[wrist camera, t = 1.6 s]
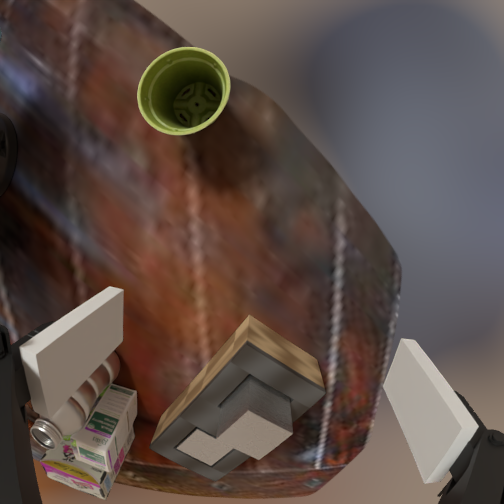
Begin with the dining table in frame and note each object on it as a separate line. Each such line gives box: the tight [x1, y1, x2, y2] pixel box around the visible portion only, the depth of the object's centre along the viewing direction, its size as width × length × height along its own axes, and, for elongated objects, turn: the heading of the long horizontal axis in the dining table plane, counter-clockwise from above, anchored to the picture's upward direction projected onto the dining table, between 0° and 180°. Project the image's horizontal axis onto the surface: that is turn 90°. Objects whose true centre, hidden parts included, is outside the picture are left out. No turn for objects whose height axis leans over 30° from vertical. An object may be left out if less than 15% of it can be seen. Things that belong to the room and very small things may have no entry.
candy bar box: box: [40, 424, 135, 500], centre depth 41 cm, size 11×5×16 cm, turn 84°
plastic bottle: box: [30, 351, 121, 450], centre depth 35 cm, size 6×7×20 cm
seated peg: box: [177, 426, 233, 466], centre depth 43 cm, size 6×6×8 cm
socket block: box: [149, 315, 326, 481], centre depth 42 cm, size 12×25×8 cm, turn 143°
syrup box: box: [70, 383, 137, 472], centre depth 40 cm, size 6×6×14 cm
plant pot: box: [137, 47, 230, 135], centre depth 32 cm, size 9×9×9 cm
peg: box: [216, 374, 293, 460], centre depth 35 cm, size 6×6×8 cm
